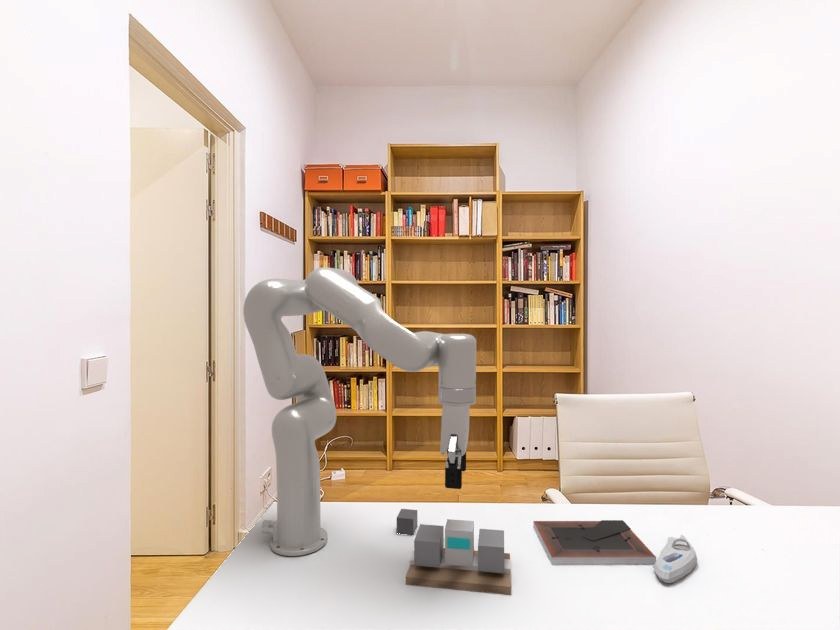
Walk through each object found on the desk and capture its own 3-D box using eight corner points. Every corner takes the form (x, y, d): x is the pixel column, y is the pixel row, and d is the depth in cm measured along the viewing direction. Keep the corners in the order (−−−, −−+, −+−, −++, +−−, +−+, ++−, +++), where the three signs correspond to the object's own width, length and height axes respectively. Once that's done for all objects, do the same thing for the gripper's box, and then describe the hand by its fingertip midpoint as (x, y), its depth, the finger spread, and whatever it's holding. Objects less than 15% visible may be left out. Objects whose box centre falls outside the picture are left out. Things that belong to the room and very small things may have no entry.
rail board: (405, 584, 93) (405, 571, 93) (416, 552, 105) (416, 541, 105) (511, 594, 90) (511, 581, 90) (509, 560, 101) (509, 548, 101)
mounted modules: (414, 565, 95) (414, 540, 95) (420, 547, 102) (420, 524, 102) (504, 573, 92) (504, 547, 92) (504, 554, 99) (504, 530, 99)
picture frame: (622, 530, 116) (533, 530, 116) (623, 519, 116) (533, 520, 116) (656, 568, 100) (551, 568, 100) (656, 556, 100) (551, 556, 100)
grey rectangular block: (396, 534, 113) (396, 517, 113) (401, 524, 118) (401, 508, 118) (413, 536, 113) (413, 519, 112) (417, 526, 117) (417, 509, 117)
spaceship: (687, 595, 90) (687, 572, 90) (648, 584, 94) (648, 561, 94) (703, 545, 108) (703, 525, 108) (670, 536, 112) (670, 518, 112)
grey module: (444, 565, 95) (444, 530, 95) (447, 552, 100) (447, 519, 100) (472, 567, 94) (472, 532, 94) (473, 554, 99) (473, 521, 99)
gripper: (444, 386, 106) (443, 463, 107) (432, 403, 89) (431, 494, 90) (478, 388, 105) (477, 465, 106) (472, 405, 88) (471, 497, 89)
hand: (455, 478), depth 98 cm, fingers open, 9 cm apart
